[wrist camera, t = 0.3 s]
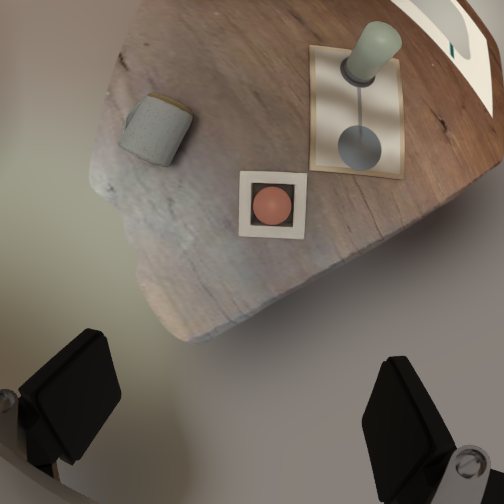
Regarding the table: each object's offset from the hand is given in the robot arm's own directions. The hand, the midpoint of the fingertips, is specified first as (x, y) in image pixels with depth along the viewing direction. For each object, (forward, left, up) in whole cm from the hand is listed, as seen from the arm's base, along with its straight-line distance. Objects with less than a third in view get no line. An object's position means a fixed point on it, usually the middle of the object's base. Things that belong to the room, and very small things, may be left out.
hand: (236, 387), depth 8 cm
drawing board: (-17, +11, -30) cm, 36 cm away
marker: (-22, +11, -29) cm, 38 cm away
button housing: (-3, 0, -30) cm, 30 cm away
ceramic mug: (-13, -16, -31) cm, 37 cm away
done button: (-3, 0, -28) cm, 28 cm away
